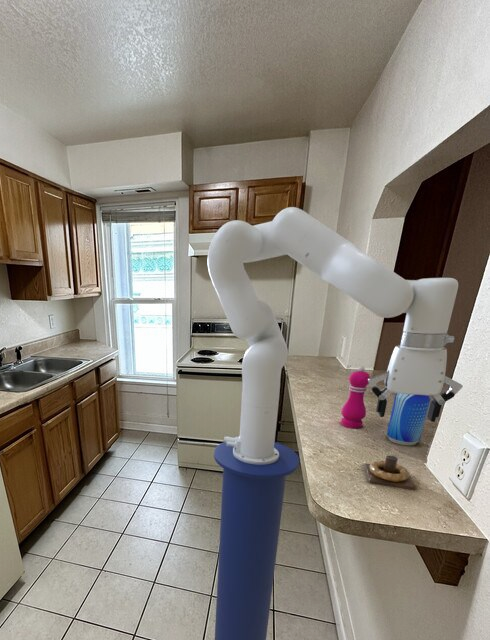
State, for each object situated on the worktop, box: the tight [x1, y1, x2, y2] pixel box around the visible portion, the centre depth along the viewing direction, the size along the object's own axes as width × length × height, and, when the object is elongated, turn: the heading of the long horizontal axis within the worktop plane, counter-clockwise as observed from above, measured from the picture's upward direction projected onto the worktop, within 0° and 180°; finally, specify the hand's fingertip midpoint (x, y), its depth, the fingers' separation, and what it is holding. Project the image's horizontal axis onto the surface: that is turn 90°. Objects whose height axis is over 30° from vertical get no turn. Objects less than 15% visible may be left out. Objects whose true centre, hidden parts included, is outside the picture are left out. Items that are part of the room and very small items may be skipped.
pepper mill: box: [340, 365, 371, 429], centre depth 115 cm, size 7×7×20 cm
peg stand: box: [364, 455, 415, 491], centre depth 85 cm, size 9×9×5 cm
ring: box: [369, 460, 411, 482], centre depth 86 cm, size 8×8×2 cm
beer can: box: [386, 393, 431, 446], centre depth 103 cm, size 8×8×16 cm
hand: (405, 417), depth 80 cm, fingers open, 9 cm apart
